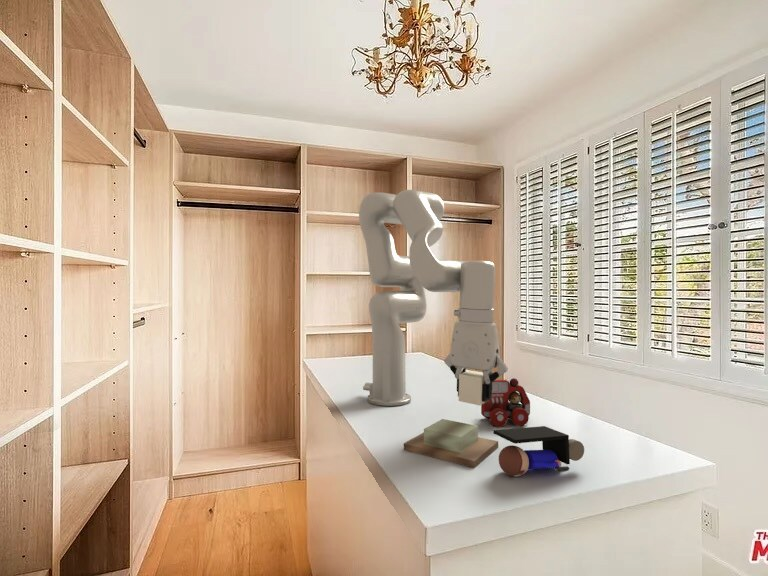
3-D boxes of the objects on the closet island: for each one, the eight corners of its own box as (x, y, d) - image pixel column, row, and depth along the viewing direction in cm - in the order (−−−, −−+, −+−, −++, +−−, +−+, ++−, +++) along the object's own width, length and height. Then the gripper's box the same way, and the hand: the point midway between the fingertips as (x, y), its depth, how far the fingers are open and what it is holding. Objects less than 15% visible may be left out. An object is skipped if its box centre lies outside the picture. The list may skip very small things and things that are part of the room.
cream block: (458, 401, 93) (459, 374, 93) (467, 395, 97) (468, 370, 97) (479, 405, 90) (480, 377, 90) (488, 400, 94) (489, 373, 94)
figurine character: (555, 464, 80) (488, 468, 74) (558, 424, 80) (492, 424, 75) (584, 479, 73) (513, 484, 68) (587, 435, 74) (517, 436, 68)
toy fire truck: (536, 425, 98) (536, 381, 98) (485, 427, 97) (485, 382, 97) (523, 417, 105) (523, 375, 105) (475, 418, 104) (475, 376, 104)
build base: (403, 449, 83) (403, 428, 83) (432, 432, 93) (432, 413, 93) (474, 467, 75) (474, 444, 75) (498, 447, 84) (498, 426, 85)
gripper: (434, 314, 95) (431, 394, 95) (508, 321, 85) (505, 410, 85) (449, 312, 101) (446, 387, 101) (520, 318, 91) (517, 401, 91)
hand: (473, 397), depth 93 cm, fingers closed on cream block, 5 cm apart
